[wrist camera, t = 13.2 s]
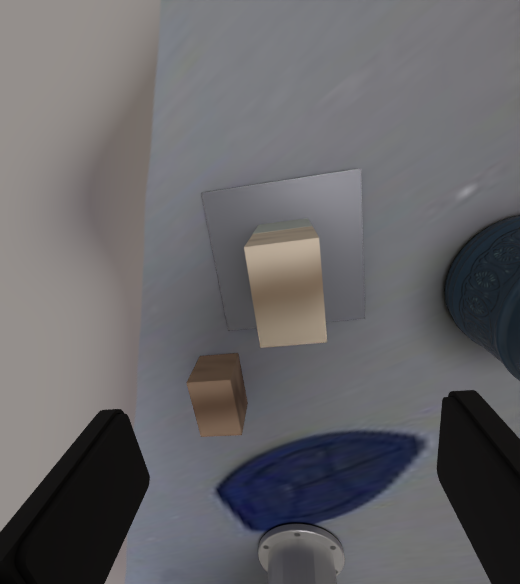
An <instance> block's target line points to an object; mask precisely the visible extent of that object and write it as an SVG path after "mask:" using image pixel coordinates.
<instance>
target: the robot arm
mask: <svg viewBox="0 0 520 584" xmlns="http://www.w3.org/2000/svg"><path fill="white" fill-rule="evenodd" d="M437 474H438V478H439V481H440V483H441V485H442V487H443V489H444V491H445V493H446V495H447V497H448V499H449V501H450V503H451V505H452V507H453V509H454V511H455V513H456V515H457V517H458V519H459V521H460V523H461V525H462V527H463V528H464V530H465V532H466V534H467V536H468V538H469V540H470V542H471V544H472V546H473V548H474V550H475V552H476V554H477V556H478V558H479V560H480V562H481V564H482V566H483V568H484V570H485V572H486V574H487V576H488V578H489V580H490V582H491V584H520V439H519V438H518V437H517V436H516V434H515V433H514V432H513V431H512V430H511V429H510V428H509V427H508V426H507V424H506V423H505V422H504V421H503V420H502V419H501V418H500V417H499V416H498V414H497V413H496V412H495V411H494V410H493V409H492V408H491V407H490V406H489V404H488V403H487V402H486V401H485V400H484V399H483V398H482V397H481V396H480V395H479V394H478V393H477V392H476V391H474V390H467V391H451V392H450V393H449V395H448V397H444V398H443V400H442V411H441V423H440V435H439V447H438V460H437ZM149 480H150V476H149V473H148V470H147V467H146V464H145V461H144V459H143V456H142V453H141V450H140V448H139V445H138V442H137V439H136V436H135V434H134V431H133V428H132V425H131V423H130V420H129V417H128V415H127V414H124V412H123V411H122V410H121V409H113V410H102V411H100V412H99V413H98V414H97V415H96V416H95V417H94V418H93V420H92V421H91V422H90V423H89V425H88V426H87V427H86V428H85V429H84V431H83V432H82V433H81V434H80V436H79V437H78V438H77V439H76V441H75V442H74V443H73V444H72V445H71V447H70V448H69V449H68V450H67V451H66V453H65V454H64V455H63V456H62V458H61V459H60V460H59V461H58V462H57V464H56V465H55V466H54V467H53V469H52V470H51V471H50V472H49V473H48V475H47V476H46V477H45V478H44V480H43V481H42V482H41V483H40V484H39V486H38V487H37V488H36V489H35V490H34V492H33V493H32V494H31V495H30V497H29V498H28V499H27V500H26V501H25V503H24V504H23V505H22V506H21V508H20V509H19V510H18V511H17V512H16V514H15V515H14V516H13V517H12V519H11V520H10V521H9V522H8V523H7V525H6V526H5V527H4V528H3V530H2V531H1V532H0V584H104V583H105V581H106V579H107V577H108V575H109V572H110V570H111V568H112V566H113V563H114V561H115V559H116V557H117V555H118V553H119V550H120V548H121V546H122V543H123V541H124V539H125V537H126V535H127V533H128V531H129V528H130V526H131V524H132V522H133V520H134V517H135V515H136V513H137V511H138V509H139V506H140V504H141V502H142V500H143V498H144V495H145V493H146V491H147V489H148V486H149ZM258 558H259V561H260V563H261V565H262V567H263V568H264V569H265V570H266V571H267V572H268V576H267V584H337V581H336V576H337V575H338V574H339V573H340V572H341V571H342V569H343V567H344V563H345V557H344V551H343V548H342V545H341V544H340V542H339V541H338V540H337V539H336V538H335V537H334V536H333V535H332V534H330V533H329V532H327V531H325V530H323V529H321V528H319V527H315V526H312V525H306V524H287V525H282V526H279V527H276V528H274V529H272V530H270V531H269V532H267V533H266V534H265V535H264V536H263V537H262V539H261V541H260V543H259V549H258Z"/></svg>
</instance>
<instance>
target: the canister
mask: <svg viewBox="0 0 520 584" xmlns="http://www.w3.org/2000/svg"><path fill="white" fill-rule="evenodd" d="M445 300H446V305H447V308H448V310H449V312H450V314H451V316H452V318H453V319H454V321H455V323H456V324H457V326H458V327H459V328H460V330H461V331H462V332H463V333H464V334H466V335H467V336H468V337H469V338H470V339H471V340H473V341H474V342H475V343H477V344H479V345H480V346H483V347H484V348H485V349H486V350H488V351H489V352H490V353H491V354H492V355H494V356H495V357H496V358H497V359H498V360H499V361H501V362H502V363H503V364H504V366H505V367H506V368H507V370H508V371H509V372H510V373H511V374H512V375H513V376H514V377H515V378H516V379H518V380H519V381H520V215H519V216H515V217H511V218H508V219H505V220H502V221H500V222H497V223H495V224H493V225H491V226H490V227H488V228H486V229H485V230H483V231H481V232H480V233H479V234H477V235H476V236H475V237H474V238H472V239H471V240H470V241H469V242H468V243H467V244H466V245H465V246H464V247H463V249H462V250H461V251H460V252H459V254H458V255H457V256H456V258H455V260H454V261H453V263H452V265H451V267H450V270H449V272H448V275H447V279H446V284H445Z"/></svg>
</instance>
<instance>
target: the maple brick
mask: <svg viewBox="0 0 520 584" xmlns="http://www.w3.org/2000/svg"><path fill="white" fill-rule="evenodd" d="M244 251H245V257H246V263H247V269H248V275H249V281H250V287H251V293H252V299H253V305H254V312H255V318H256V324H257V330H258V336H259V342H260V348H265V347H277V346H289V345H301V344H313V343H326V342H327V333H326V320H325V307H324V294H323V281H322V269H321V256H320V243H319V237H318V235H317V233H316V231H315V230H314V228H313V226H308V227H301V228H293V229H286V230H278V231H271V232H263V233H256V234H252V236H251V237H250V239H249V240H248V242H247V243H246V245H245V246H244Z"/></svg>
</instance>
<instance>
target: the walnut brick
mask: <svg viewBox="0 0 520 584" xmlns="http://www.w3.org/2000/svg"><path fill="white" fill-rule="evenodd" d="M187 386H188V390H189V394H190V398H191V401H192V405H193V409H194V412H195V416H196V420H197V424H198V427H199V431H200V435H201V437H207V436H231V435H242V431H243V426H244V420H245V415H246V409H247V404H248V402H247V397H246V392H245V387H244V381H243V376H242V371H241V366H240V361H239V355H238V353H233V354H220V355H207V356H200V357H199V359H198V361H197V363H196V365H195V367H194V369H193V371H192V373H191V375H190V377H189V379H188V381H187Z"/></svg>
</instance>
